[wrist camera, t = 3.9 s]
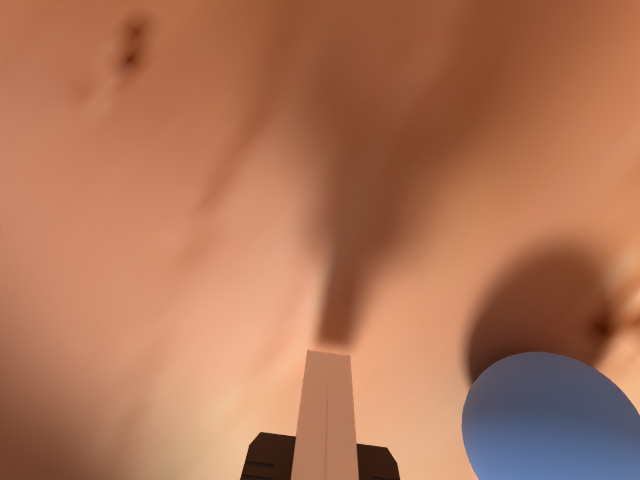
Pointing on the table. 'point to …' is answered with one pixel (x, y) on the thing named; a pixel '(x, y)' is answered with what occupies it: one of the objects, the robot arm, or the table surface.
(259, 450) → the robot arm
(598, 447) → the ball
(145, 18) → the table surface
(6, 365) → the table surface
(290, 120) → the table surface
